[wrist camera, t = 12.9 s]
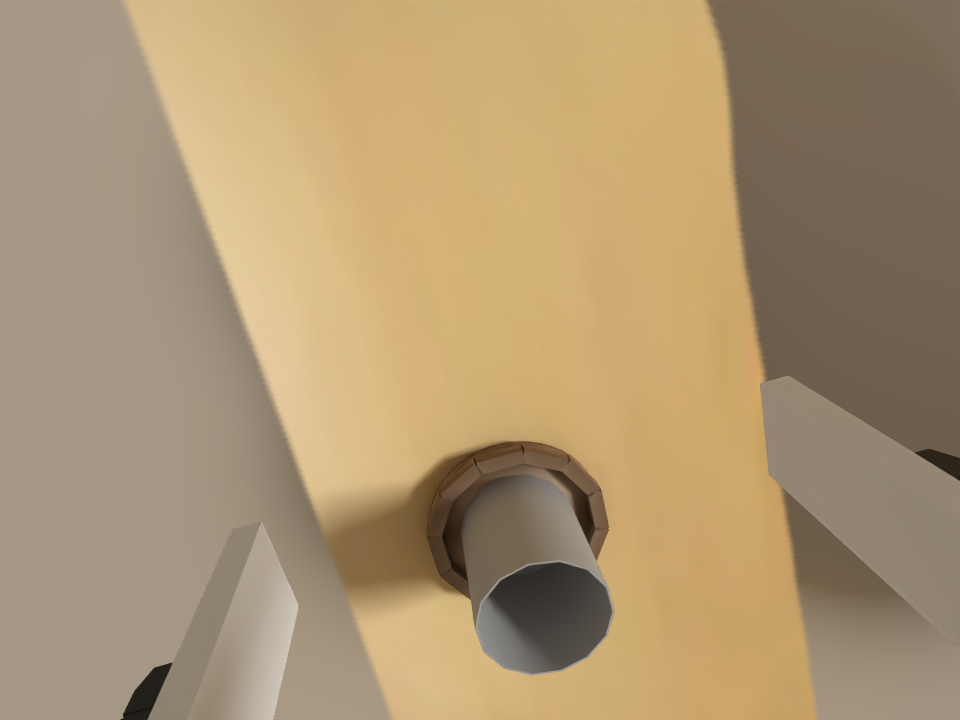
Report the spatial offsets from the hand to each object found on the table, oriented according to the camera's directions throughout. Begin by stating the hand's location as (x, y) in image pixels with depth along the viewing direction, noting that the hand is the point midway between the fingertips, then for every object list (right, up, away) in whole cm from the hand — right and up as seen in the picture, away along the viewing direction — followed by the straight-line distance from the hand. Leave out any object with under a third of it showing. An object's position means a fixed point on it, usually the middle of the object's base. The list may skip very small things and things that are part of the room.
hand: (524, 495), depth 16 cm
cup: (+2, -9, +31) cm, 32 cm away
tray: (+2, -9, +32) cm, 33 cm away
